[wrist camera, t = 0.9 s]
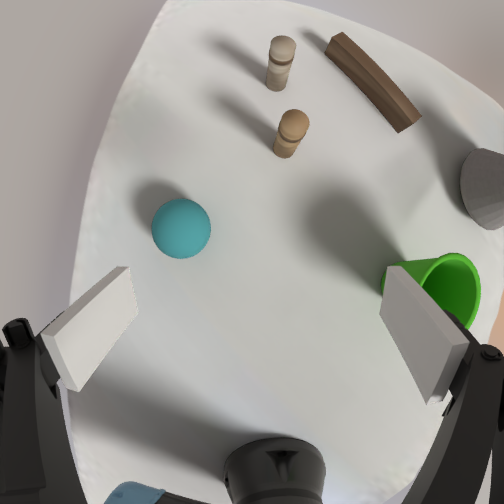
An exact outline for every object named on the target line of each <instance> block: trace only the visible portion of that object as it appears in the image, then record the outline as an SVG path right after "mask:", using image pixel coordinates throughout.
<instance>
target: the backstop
mask: <svg viewBox="0 0 504 504" xmlns="http://www.w3.org/2000/svg"><path fill="white" fill-rule="evenodd" d="M325 55H327V56H328V57H329V58H330V59H331V60H332V61H333V62H334V63H335V64H336V65H337V66H338V67H339V68H340V69H341V70H342V71H343V72H344V73H345V74H346V75H347V76H348V77H349V78H350V79H351V80H352V81H353V82H354V83H355V84H356V85H357V86H358V87H359V88H360V89H361V90H362V91H363V92H364V94H365V95H366V96H367V97H368V98H369V99H370V100H371V101H372V102H373V104H374V105H375V106H376V107H377V108H378V109H379V110H380V112H381V113H382V114H383V115H384V116H385V118H386V119H387V120H388V121H389V122H390V124H391V125H392V126H393V127H394V129H395V130H396V131H397V132H398V133H399V132H401V131H403V130H404V129H406V128H407V127H409V126H411V125H412V124H414V123H415V122H416V121H417V120H418V119H420V118H421V117H422V116H421V114H420V113H419V112H418V110H417V109H416V108H415V107H414V105H413V104H412V103H411V102H410V101H409V99H408V98H407V97H406V96H405V95H404V93H403V92H402V91H401V90H400V89H399V88H398V86H397V85H396V84H395V83H394V82H393V81H392V80H391V79H390V78H389V76H388V75H387V74H386V73H385V72H384V71H383V70H382V69H381V68H380V67H379V66H378V65H377V64H376V63H375V62H374V61H373V60H372V59H371V58H370V57H369V56H368V55H367V54H366V53H365V52H364V51H363V50H362V49H361V48H360V47H359V46H358V45H357V44H356V43H354V42H353V41H352V40H351V39H350V38H349V37H348V36H347V35H346V34H344V33H343V32H341V33H339V34H337V35H335V36H333V37H332V38H331V40H330V42H329V45H328V47H327V49H326V51H325Z"/></svg>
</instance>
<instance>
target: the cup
mask: <svg viewBox="0 0 504 504" xmlns="http://www.w3.org/2000/svg"><path fill="white" fill-rule="evenodd" d="M391 266H401V267H402V268H403V269H404V270H405V271H406V272H407V273H408V274H409V275H410V276H411V277H412V278H413V279H414V280H415V281H416V282H417V283H418V284H419V285H420V286H421V287H422V288H423V289H424V290H425V292H426V293H427V294H428V295H429V296H430V297H431V298H432V299H433V300H434V301H435V302H436V303H437V305H438V306H439V307H440V308H441V309H442V310H445V309H446V310H447V311H449V312H451V313H452V314H454V315H455V316H456V317H457V318H458V319H459V320H460V323H462V324H463V325H464V326H465V329H466V328H467V330H468V329H469V328H470V326H471V324H472V322H473V321H474V319H475V316H476V314H477V311H478V308H479V303H480V297H481V285H480V278H479V275H478V272H477V269H476V268H475V266H474V265H473V263H472V262H471V261H470V260H469V259H468V258H467V257H466V256H464V255H462V254H459V253H448V254H445V255H442V256H440V257H439V258H432V259H423V260H413V261H403V262H397V263H394V264H393V265H391ZM386 272H387V270H386V271H385V273H384V275H383V277H382V281H381V290H382V293H383V292H384V286H385V279H386Z"/></svg>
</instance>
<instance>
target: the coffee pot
mask: <svg viewBox="0 0 504 504" xmlns="http://www.w3.org/2000/svg"><path fill="white" fill-rule="evenodd" d="M460 190H461V195H462V199H463V202H464V204H465V207H466V209H467V211H468V213H469V215H470V216H471V218H472V219H473V220H474V221H475V222H476V223H477V224H478V225H480V226H481V227H483V228H485V229H487V230H496V229H498V228H500V227H502V226H503V225H504V155H503V154H500V153H497V152H494V151H490V150H487V149H484V148H481V149H475V150H474V151H472V152H471V153H470V154H469V155H468V157H467V158H466V160H465V161H464V163H463V166H462V169H461V176H460Z"/></svg>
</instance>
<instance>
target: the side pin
mask: <svg viewBox="0 0 504 504" xmlns="http://www.w3.org/2000/svg"><path fill="white" fill-rule="evenodd" d="M295 49H296V43H295V41H294V40H293V39H292V38H290V37H287V36H277V37H274V38H273V39H272V41H271V45H270V50H269V62H268V70H267V78H266V85H267V87H268V88H269V89H270V90H272V91H276V92H277V91H282V90H283V89H284V88H285V87H286V83H287V79H288V75H289V72H290V68H291V64H292V61H293V58H294V53H295Z"/></svg>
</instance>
